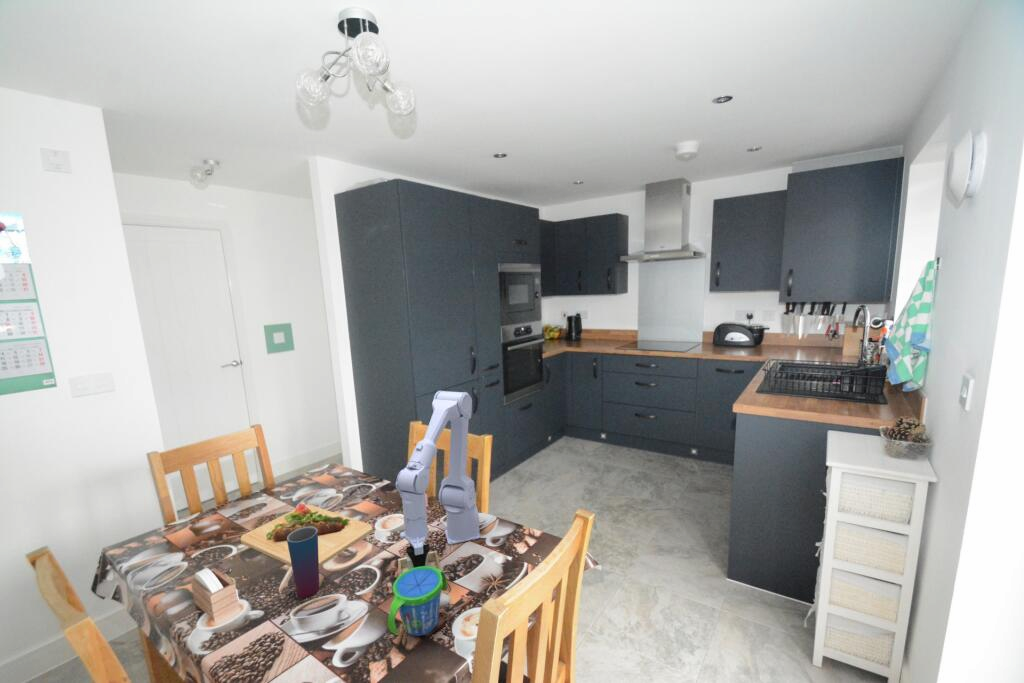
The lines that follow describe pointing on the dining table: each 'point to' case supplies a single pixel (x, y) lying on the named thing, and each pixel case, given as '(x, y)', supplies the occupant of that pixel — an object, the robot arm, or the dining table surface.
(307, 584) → the cup
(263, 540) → the cutting board
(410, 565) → the small crate
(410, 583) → the snack cup
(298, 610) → the dining table surface
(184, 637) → the dining table surface
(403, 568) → the beige wooden tray
